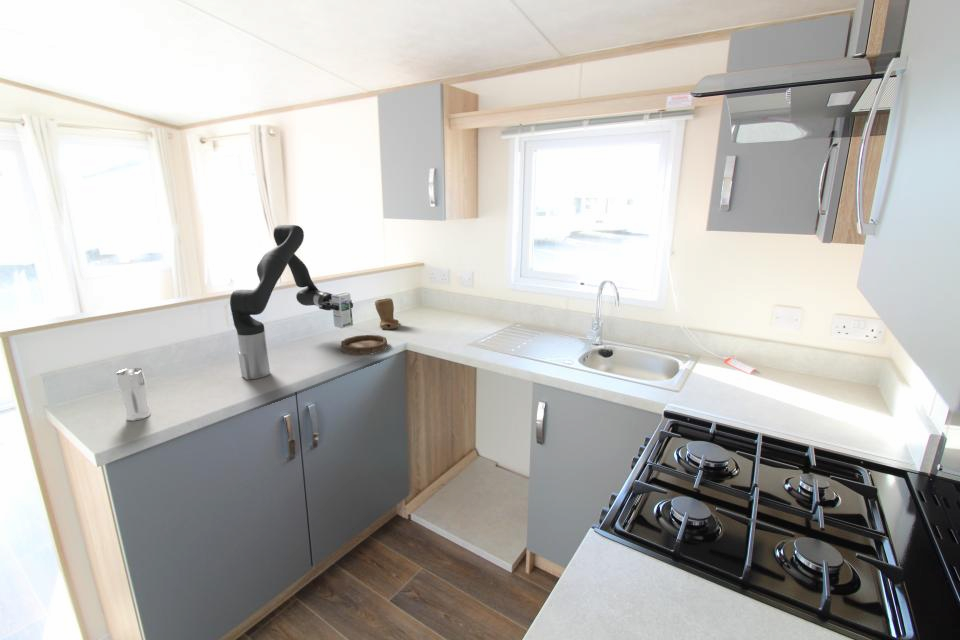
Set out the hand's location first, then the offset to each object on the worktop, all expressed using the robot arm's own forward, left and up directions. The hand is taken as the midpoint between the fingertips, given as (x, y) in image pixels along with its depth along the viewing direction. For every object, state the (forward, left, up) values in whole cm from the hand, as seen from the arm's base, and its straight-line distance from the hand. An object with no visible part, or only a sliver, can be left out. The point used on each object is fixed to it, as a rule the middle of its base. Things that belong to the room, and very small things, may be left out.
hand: (345, 306), depth 194 cm
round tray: (+9, +1, -21) cm, 23 cm away
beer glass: (-77, -7, -21) cm, 80 cm away
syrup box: (0, +2, -9) cm, 10 cm away
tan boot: (+37, +23, -21) cm, 48 cm away
